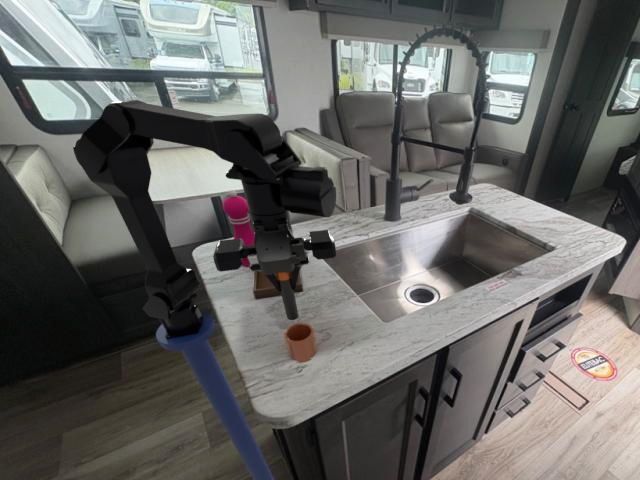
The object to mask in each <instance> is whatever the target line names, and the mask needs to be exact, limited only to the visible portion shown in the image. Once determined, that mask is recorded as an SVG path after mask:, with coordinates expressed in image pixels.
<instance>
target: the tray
mask: <svg viewBox="0 0 640 480" xmlns="http://www.w3.org/2000/svg"><path fill="white" fill-rule="evenodd" d="M290 273H291V272H290ZM293 291H294V294H297V293H303V292H304V288H303V281H302V274H301V270H300V271H299V274H298V279H297V284H296V289H295V290H293ZM252 293H253V296H254V299H255V300H260V299H261V300H262V299H266V298H273V297H279V296H282V294H281V292H278V291H277V289H276V288H275V287H274V286H273V284H272V283H271V282H270V280H269V279H268V278H267V277H266V276H265V275H264V274H263V273H262V272H259V271H253V287H252Z"/></svg>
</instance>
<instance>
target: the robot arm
mask: <svg viewBox="0 0 640 480" xmlns="http://www.w3.org/2000/svg"><path fill="white" fill-rule="evenodd" d="M154 140H158V141H163V142H169V143H175V144H179V145H184V146H190V147H194V148H200V149H205V150H207V151H210V152H213V153H214V154H215V155H216V156H217V157H218V158H220V159H221V160H223V161H226V162H228V163H231V164H232V166H231V167H230V168H229V169H228V171H227V172H225V177H226V178H227V179H229V180H238V181H240V182H241V185H242V190H243V192H244V198H245V200H246V201H247V205H248V209H249V211H248V213H249V217H250V221H251V224H252V229H253V232H254V233H255V237H254V244H255V245H248V246H245V245H244V242H243V240H242V239H241V238H240V239H234V238H231V239H222V240H221V239H220V240H218V242H217V243H216V246H215V249H214V253H213V255H212V257H213V262H214V265H215V268H216V270H217V272H218V271H219V272H229V271H235V270H239V269H241V267H242V266H243V265H242V263H243V262H242V259H241V258H248V260H249V262H250V266H249V270H250V271H251V272H254V271H259V272H262V273H263V274H264V275H265V276H266V277H267V278H268V279H269V280H270V282H271V283H272V284H273V286H274V287H275V288H276V289H277V291H278V292H281V289H280V285H279V282H278V279H277V276H276V273H282V272H285V273H289V272H291V281H292V288H293V290H295V289H296V284H297V279H298V274H299V271H300V272H301V269H302V267H303V266H305V265H308V264H309V263H310V260H309V252H310V251H311V252H312V257H313V258H315V259H316V260H317V261H318V260H327V259H334V258H335V257H337V250H336V242H335V239H334V236H333V234H332V232H331V231H330V230H329V229H323V230H312V231H308V237H309V238H303V237H295V236H294V232H293V226H292V221H291V216H290V213H291V214H297V215H304V216H305V215H306V216H312V217H313V216H314V217H320V218H321V217H323V218H331V216H332V215H333V213H334V212H335V208H336V203H337V187H336V186H335V185H334V181H333V179H332V177H331V176H329V171H328V168H327V167H326V166H315V167H311V166H301V165H302V160H301V159H300V158H299V156H298V155H297V154H296V153H295V151H294V150H293V148H292V147H291V145H289V144H288V142H287V141H286V140H285V138H284V137H283V135H282V133H281V130H280V129H279V126H278V125H277V124H276V123H275V121H274V119H273V118H272V117H270V116H269V115H267V114H265V113H260V112H259V113H238V114H228V115H227V114H226V115H211V114H207V113H201V112H195V111H189V110H185V109H179V108H173V107H169V106H163V105H157V104H151V103H146V102H144V101H142V100H139V99H130V100H122V101H121V100H120V101H114V102H109V104H107V105H106V106H105V107H104V108H103V111H102V113H101V115H100V117H98V119H97V120H96V121H94V122H93V123H92V124H91V125H90V126H89V127H88V128H87V129H86V130H84V132H83V133H82V134H81V137H80V138H79V139H77V140H76V142H75V145H74V146H73V147H72V149H73V150H72V151H73V154H74V156H75V159H76V161H77V163H78V164H79V165H80V166H81V168H82V170H83V171H84V173H85V174H86V176H87V178H88V179H89V180H90V181H91V182H92V183H93V184H94V185H96V186H97V187H99V188H100V189H102V190H103V191H104V192H106V193H107V194H109V195H110V196H111V198H112V200H113V202H114V203H115V206H116V209H118V212H119V214H120V216H121V218H122V220H123V222H124V224H125V227H126V228H127V230H128V232H129V234H130V237H131V238H132V241H133V243H134V244H135V247H136V248H137V250H138V253H139V256H140V257H141V259H142V261H143V263H144V265H145V267H146V269H147V272H146V275H145V276H146V277H145V282H144V287H145V290H146V294H147V296H148V300H147V301H146V303H145V304H144V306H143V307H142V310H143V311H144V313H146V314H147V316H148V317H151V318H154V319H155V318H156V319H158V320H159V322H160V323H161V325H162V324H163V326H164V328H165V330H166V331H167V332H166V335H165V338H166V339H170V338H176V337H181V336H187V335H193V334H197V333H199V330H200V326H201V325H202V321H203V315H202V314H201V312H200V311H201V310H200V309H199V306H198V305H197V304H194V301H193V299H194V298H197V297H198V291H199V286H200V285H201V283H200V282H199V280H198V279H197V277H196V271H195V270H194V269H192V268H187V267H185V266H184V265H182V264H181V263H179V261H178V260H177V257H176V255H175V252H174V250H173V248H172V245H171V243H170V240H169V238H168V235H167V233H166V231H165V229H164V225H163V224H162V223H163V222H162V221H161V219H160V216H159V214H158V212H157V210H156V209H157V208H156V207H155V205H154V202H153V199H152V196H151V195H150V192H149V189H150V183H151V177H152V169H151V165H150V160H149V157H148V154H149V153H150V151H151V149H152V148H153V146H154V143H155V142H154ZM275 157H276V158H277V160H275V161H272V162H270V163H269V162H268V161H269V160H272V159H274V158H275Z"/></svg>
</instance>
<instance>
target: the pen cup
mask: <svg viewBox="0 0 640 480" xmlns="http://www.w3.org/2000/svg"><path fill="white" fill-rule="evenodd" d="M315 335H316V333H315V329H314V327H313V326H312V325H311V324H308V323H306V322H305V323H304V322H299V323H295V324H292V325H290V326H288V327H287V328H286V329H285V331H284V333H283V336H284V337H283V338H284V341H285V344H286V349H287V353H288V356H289V358H290V359H292V361H294V362H295V361H296V363H298V364H302V363H307V362H310V361H312V360H313V358H314V357H315V356H316V354H317V352H318V345H317V340H316V336H315Z"/></svg>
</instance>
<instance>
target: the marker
mask: <svg viewBox="0 0 640 480" xmlns="http://www.w3.org/2000/svg"><path fill="white" fill-rule="evenodd" d="M276 276H277V279H278V282H279V285H280V289H281V294H282V295H281V299H282V302H283V306H284V311H285V315H286V319H287V320H288V321H295V320H298V319H299V317H300V316H299V310H298V306H297V300H296V295H295V293H294V291H293V288H292V281H291V273H290V272H289V273H285V272H282V273H276Z"/></svg>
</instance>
